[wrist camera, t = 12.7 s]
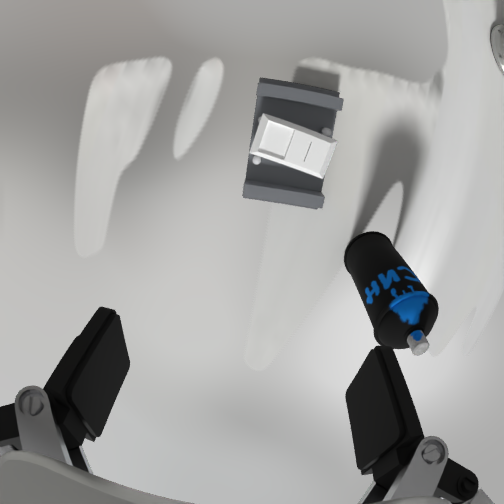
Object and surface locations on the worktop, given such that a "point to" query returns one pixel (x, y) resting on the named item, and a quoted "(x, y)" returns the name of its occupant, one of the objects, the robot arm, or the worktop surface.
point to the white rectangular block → (293, 145)
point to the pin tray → (303, 114)
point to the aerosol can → (391, 293)
